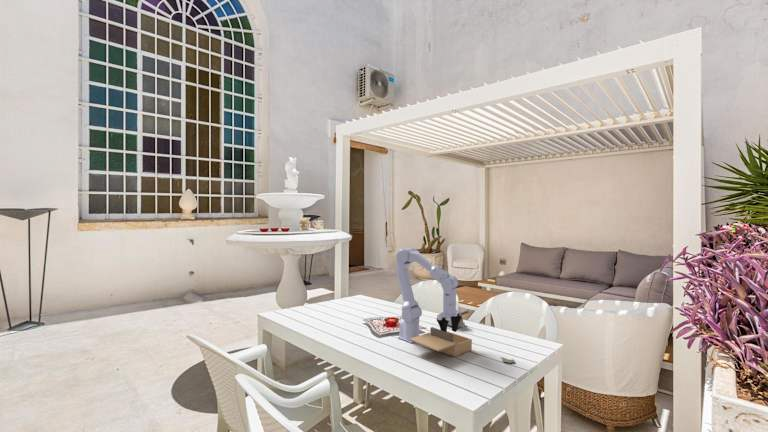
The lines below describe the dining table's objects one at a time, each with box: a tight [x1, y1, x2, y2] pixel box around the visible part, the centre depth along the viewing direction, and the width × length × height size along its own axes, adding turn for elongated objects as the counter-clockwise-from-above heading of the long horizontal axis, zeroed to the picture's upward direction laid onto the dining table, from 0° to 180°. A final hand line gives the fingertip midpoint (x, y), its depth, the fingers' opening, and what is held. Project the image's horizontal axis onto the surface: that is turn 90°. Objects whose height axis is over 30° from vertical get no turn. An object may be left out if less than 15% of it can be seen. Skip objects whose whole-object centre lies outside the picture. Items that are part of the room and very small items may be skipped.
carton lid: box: [409, 326, 458, 352], centre depth 155 cm, size 17×13×4 cm
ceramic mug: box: [445, 317, 465, 329], centre depth 195 cm, size 11×8×8 cm
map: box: [500, 356, 516, 364], centre depth 156 cm, size 5×20×1 cm, turn 170°
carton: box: [439, 330, 473, 358], centre depth 162 cm, size 16×12×5 cm
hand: (449, 332), depth 162 cm, fingers open, 7 cm apart
